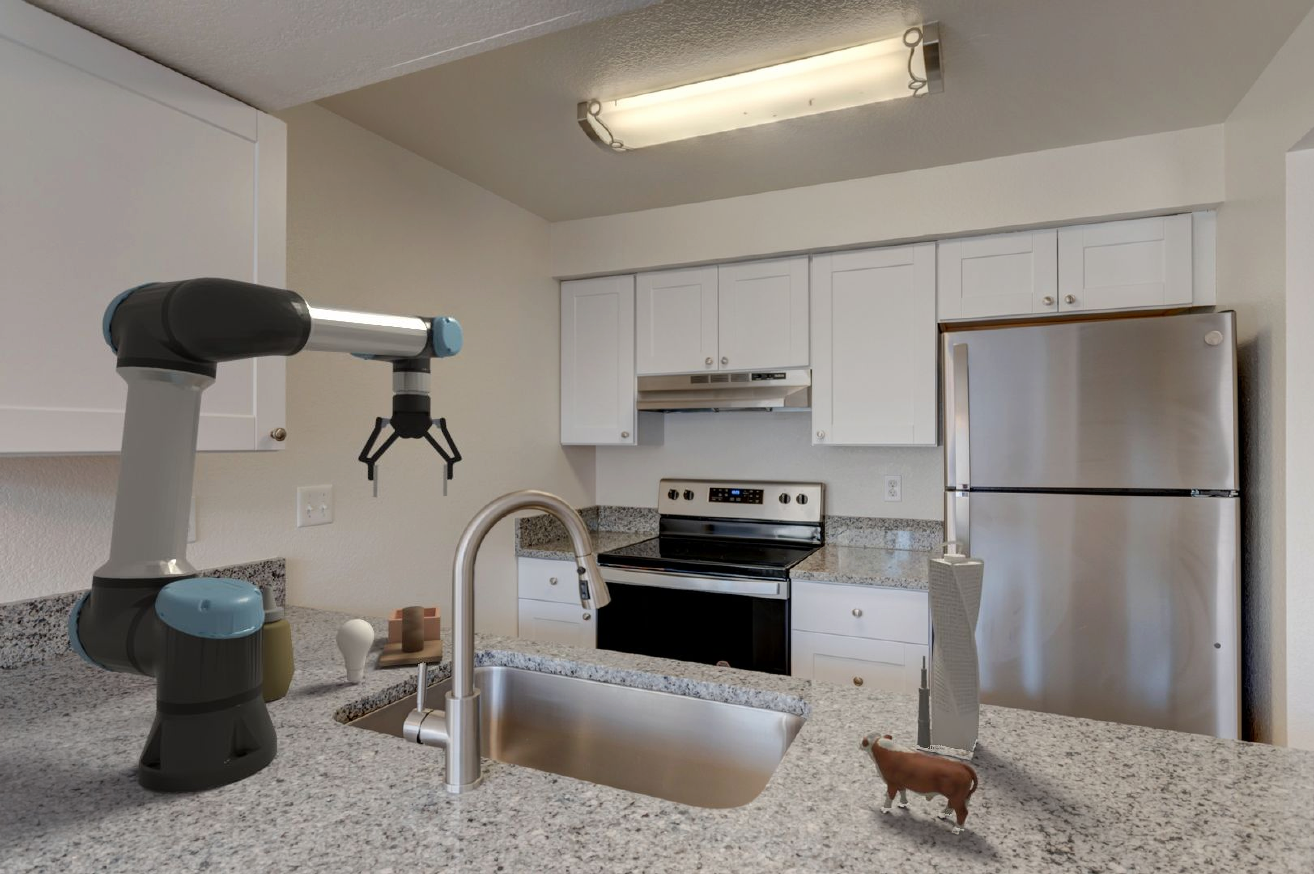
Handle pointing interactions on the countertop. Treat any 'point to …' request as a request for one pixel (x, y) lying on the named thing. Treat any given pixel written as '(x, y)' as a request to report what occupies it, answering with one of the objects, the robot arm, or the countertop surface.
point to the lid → (412, 642)
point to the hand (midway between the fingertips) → (411, 496)
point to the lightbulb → (355, 646)
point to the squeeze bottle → (276, 649)
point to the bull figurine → (920, 775)
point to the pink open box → (430, 625)
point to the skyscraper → (952, 653)
